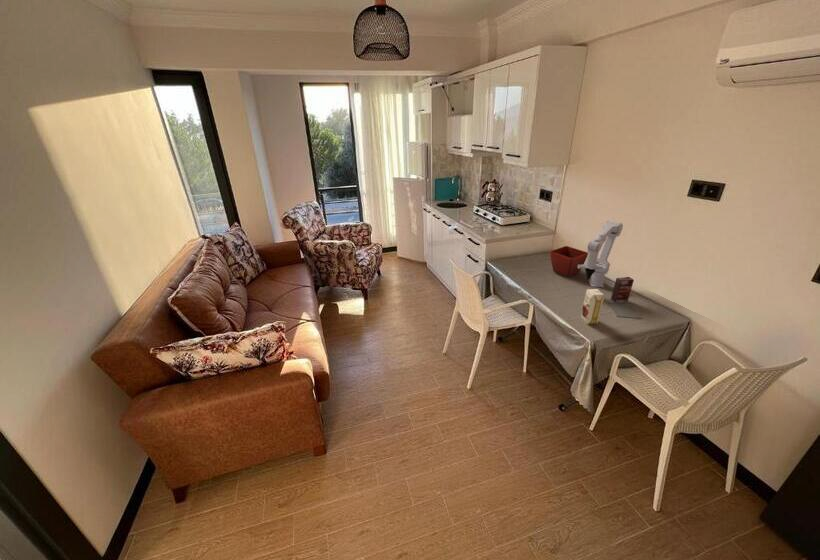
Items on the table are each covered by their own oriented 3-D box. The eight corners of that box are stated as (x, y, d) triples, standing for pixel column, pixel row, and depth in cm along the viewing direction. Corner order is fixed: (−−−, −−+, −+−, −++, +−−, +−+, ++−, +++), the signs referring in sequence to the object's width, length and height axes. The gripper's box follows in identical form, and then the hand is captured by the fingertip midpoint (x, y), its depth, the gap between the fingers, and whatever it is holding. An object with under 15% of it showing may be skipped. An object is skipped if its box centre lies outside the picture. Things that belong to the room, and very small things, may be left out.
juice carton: (591, 316, 193) (598, 287, 185) (599, 324, 186) (606, 295, 177) (578, 317, 193) (584, 288, 185) (586, 325, 185) (592, 295, 177)
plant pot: (568, 280, 237) (572, 258, 230) (546, 271, 252) (549, 251, 245) (585, 273, 246) (589, 252, 238) (562, 265, 261) (566, 245, 253)
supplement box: (615, 303, 205) (621, 281, 198) (610, 300, 209) (615, 277, 202) (628, 302, 206) (634, 279, 199) (622, 298, 210) (628, 276, 203)
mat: (609, 303, 206) (609, 302, 206) (632, 305, 203) (632, 304, 202) (617, 316, 192) (617, 316, 192) (642, 318, 189) (642, 318, 189)
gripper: (580, 261, 207) (577, 280, 213) (606, 262, 204) (601, 282, 210) (578, 257, 213) (574, 276, 219) (603, 258, 210) (598, 277, 216)
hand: (587, 278), depth 215 cm, fingers closed
